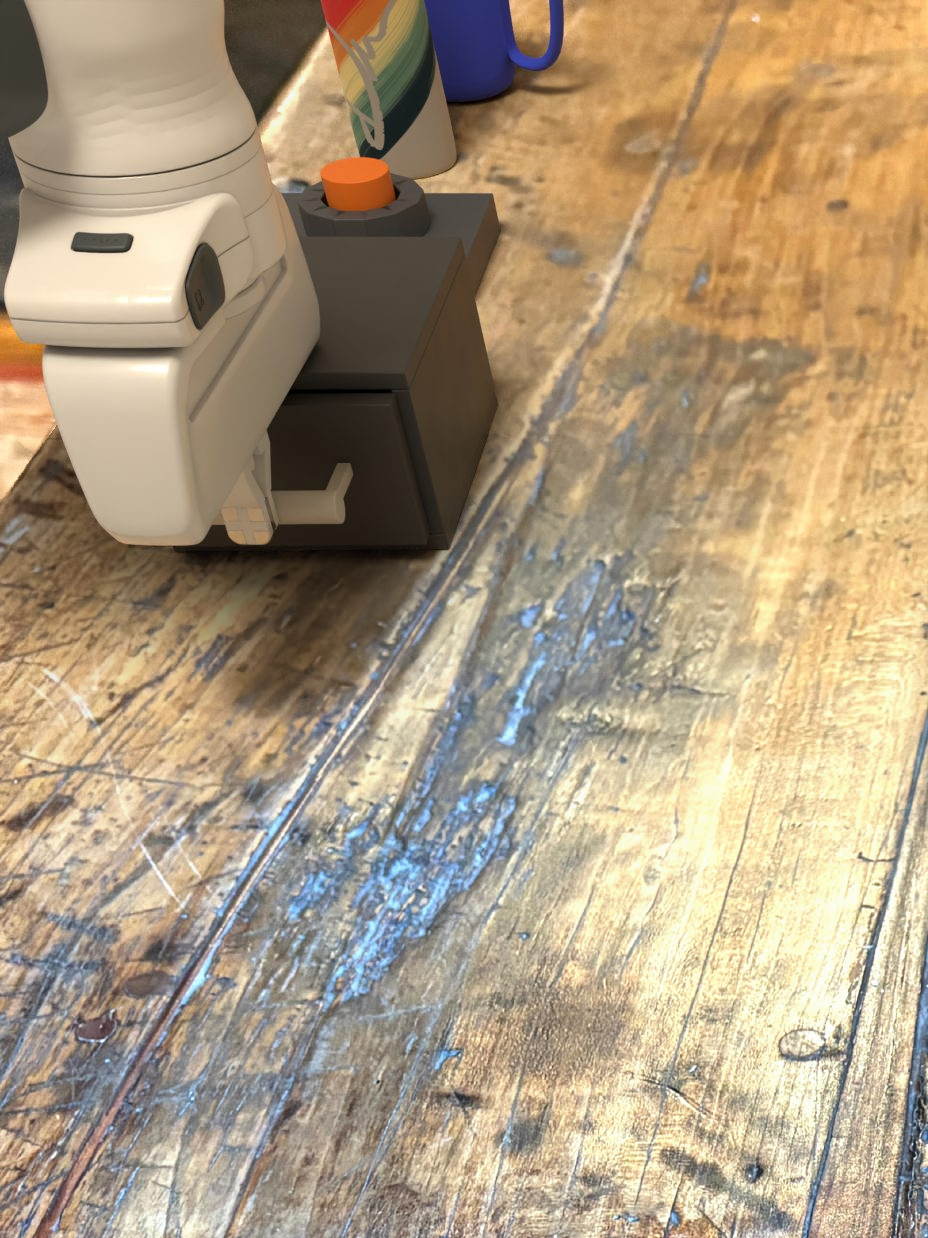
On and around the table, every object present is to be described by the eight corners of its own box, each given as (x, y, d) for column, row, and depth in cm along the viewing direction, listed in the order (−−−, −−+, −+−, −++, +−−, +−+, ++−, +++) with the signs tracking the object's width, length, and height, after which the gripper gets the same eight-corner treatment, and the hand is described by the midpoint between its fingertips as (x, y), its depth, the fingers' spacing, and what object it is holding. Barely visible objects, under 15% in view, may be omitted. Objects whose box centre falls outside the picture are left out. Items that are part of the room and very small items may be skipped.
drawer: (409, 593, 100) (371, 450, 95) (149, 595, 99) (97, 452, 94) (475, 409, 112) (444, 274, 107) (244, 410, 111) (202, 274, 107)
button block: (248, 306, 122) (226, 232, 119) (290, 231, 128) (270, 159, 126) (472, 306, 122) (455, 232, 119) (501, 231, 129) (486, 160, 126)
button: (322, 215, 121) (313, 182, 120) (336, 189, 124) (327, 156, 123) (389, 215, 122) (381, 182, 120) (401, 189, 124) (394, 157, 123)
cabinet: (448, 549, 104) (404, 372, 98) (173, 552, 104) (111, 373, 97) (498, 405, 114) (461, 236, 108) (248, 406, 114) (196, 236, 107)
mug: (556, 123, 141) (524, -52, 133) (377, 105, 142) (335, -69, 135) (605, 77, 146) (577, -93, 139) (431, 60, 147) (395, -110, 140)
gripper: (157, 111, 94) (248, 423, 104) (-16, 320, 80) (109, 658, 90) (308, 115, 94) (385, 426, 104) (163, 324, 80) (268, 661, 90)
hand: (257, 535), depth 97 cm, fingers closed, pressing on drawer
